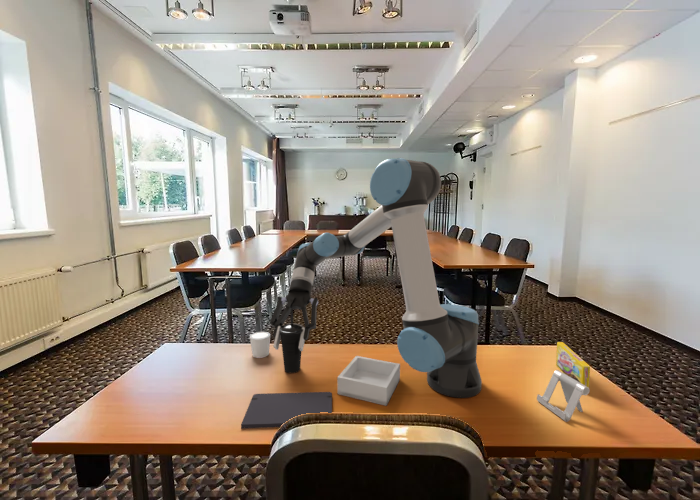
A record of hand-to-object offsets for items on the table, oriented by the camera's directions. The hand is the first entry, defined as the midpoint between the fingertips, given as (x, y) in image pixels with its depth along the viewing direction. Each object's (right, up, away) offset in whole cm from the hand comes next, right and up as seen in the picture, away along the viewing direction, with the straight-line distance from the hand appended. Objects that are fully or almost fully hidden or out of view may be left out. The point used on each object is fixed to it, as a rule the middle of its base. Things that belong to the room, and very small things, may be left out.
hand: (288, 348), depth 101 cm
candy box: (+85, -9, -1) cm, 86 cm away
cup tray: (+24, -9, -5) cm, 27 cm away
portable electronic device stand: (+73, -11, -16) cm, 76 cm away
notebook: (+4, -12, -16) cm, 20 cm away
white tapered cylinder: (-12, -7, +15) cm, 21 cm away
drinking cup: (0, -8, +5) cm, 9 cm away
